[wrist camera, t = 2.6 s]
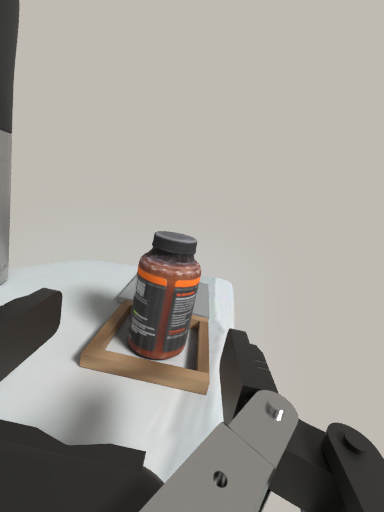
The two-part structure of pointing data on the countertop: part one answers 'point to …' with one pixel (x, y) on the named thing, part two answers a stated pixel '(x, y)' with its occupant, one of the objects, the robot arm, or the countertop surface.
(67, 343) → the countertop surface
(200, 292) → the plate
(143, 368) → the walnut frame
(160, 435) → the countertop surface
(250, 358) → the robot arm
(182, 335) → the supplement bottle
